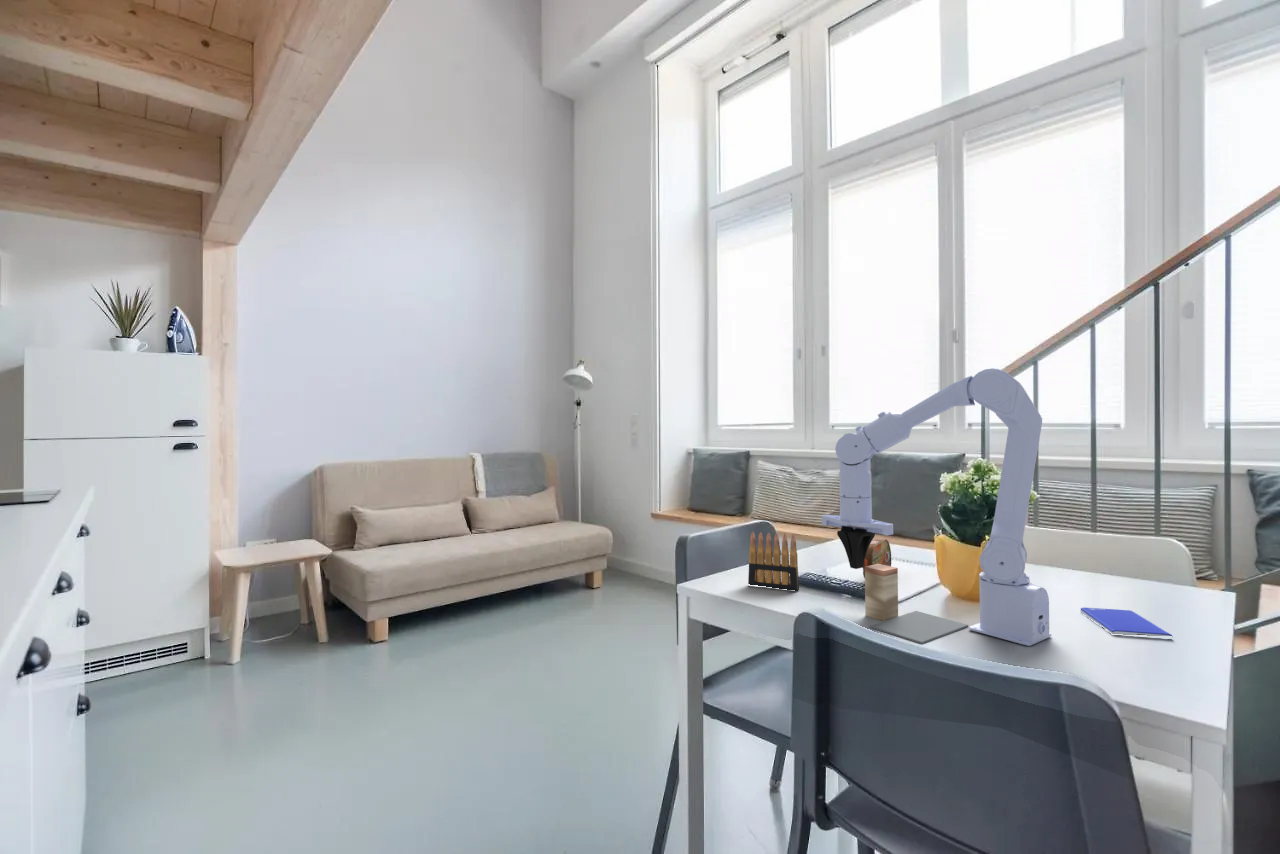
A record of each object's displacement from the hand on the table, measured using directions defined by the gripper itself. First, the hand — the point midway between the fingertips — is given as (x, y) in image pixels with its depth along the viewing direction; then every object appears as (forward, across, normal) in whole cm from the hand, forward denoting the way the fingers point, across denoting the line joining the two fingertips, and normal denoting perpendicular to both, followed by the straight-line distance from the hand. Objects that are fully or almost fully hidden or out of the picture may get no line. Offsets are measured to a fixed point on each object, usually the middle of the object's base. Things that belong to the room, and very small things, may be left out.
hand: (856, 567), depth 113 cm
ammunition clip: (+8, -20, -2) cm, 21 cm away
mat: (+8, +12, 0) cm, 15 cm away
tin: (+8, -12, +23) cm, 27 cm away
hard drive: (+9, +32, +29) cm, 44 cm away
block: (+8, +5, 0) cm, 10 cm away
